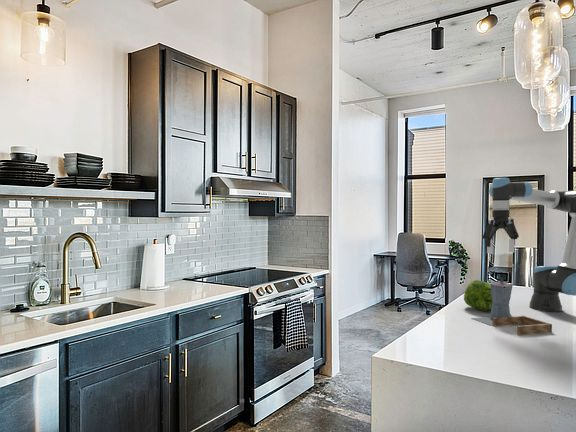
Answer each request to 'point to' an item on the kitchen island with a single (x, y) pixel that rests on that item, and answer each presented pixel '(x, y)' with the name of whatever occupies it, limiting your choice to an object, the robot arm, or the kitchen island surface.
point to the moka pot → (500, 299)
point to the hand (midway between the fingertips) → (500, 252)
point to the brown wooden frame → (529, 328)
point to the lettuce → (479, 295)
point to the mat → (484, 320)
